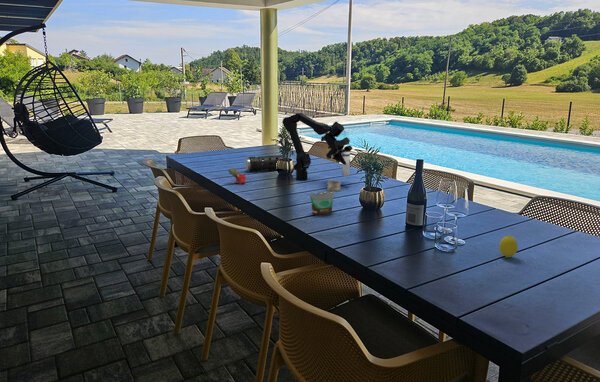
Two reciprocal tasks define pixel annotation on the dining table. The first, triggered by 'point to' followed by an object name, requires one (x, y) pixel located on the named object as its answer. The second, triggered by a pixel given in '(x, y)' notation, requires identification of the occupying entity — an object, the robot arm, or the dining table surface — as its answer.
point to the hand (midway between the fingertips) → (348, 163)
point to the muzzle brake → (262, 163)
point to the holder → (334, 186)
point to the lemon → (508, 246)
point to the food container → (322, 202)
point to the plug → (346, 167)
